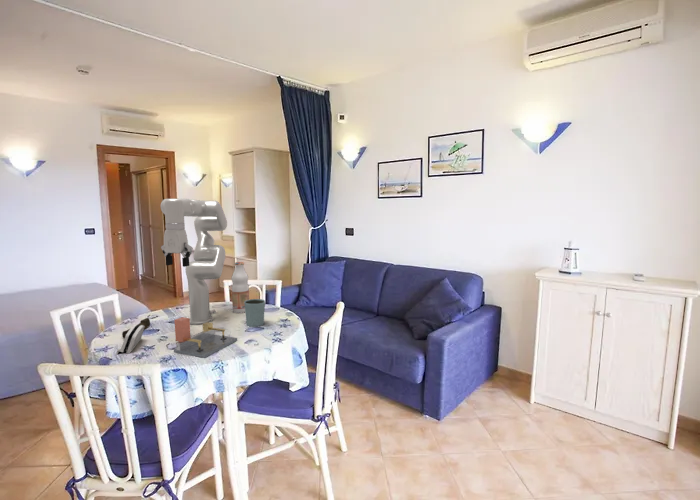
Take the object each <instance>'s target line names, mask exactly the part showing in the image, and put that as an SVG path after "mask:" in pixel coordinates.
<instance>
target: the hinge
mask: <svg viewBox="0 0 700 500" xmlns="http://www.w3.org/2000/svg"><path fill="white" fill-rule="evenodd" d="M144 327H145V326H143V325H139V323H134V324H133V325H132V326H131V327H130V328H129V329H130V330H129V331H128V333H127V334H126V336H125V339H124V338H123V342H122V344H121V346H120V347H119V348H118V349H117V350H116V353H115V355H118V354H119V353H120V352H121V353H126V354H130V353H131V352H132V351H133V350H134V349H135V348H136V346H137V344H139V343H140V341H141V339H142V337H143V334H144V330H145V329H144Z"/></svg>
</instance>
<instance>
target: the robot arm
mask: <svg viewBox="0 0 700 500" xmlns="http://www.w3.org/2000/svg"><path fill="white" fill-rule="evenodd" d="M160 210H161V212H162V213H163V214H164V217H165V218H164V219H165V225H164V226H165V230H164V235H163V245H161V246H160V249H161V252H162V253H163V256H164V257H165V265H166V266H172V265H173V264H174V262H173V254H180V255H181V256H182V259H181V260H182V262H181V263H182V267H184V268H185V275H186V279H187V285H188V299H189V300H188V301H189V318H190V325H194V326H195V325H203V324H204V323H207V322H210V323H212V322H213V321H214V316H213V314H216V313H217V310H216V309H212V310H210V309H211V308H210V307H211V306H210V291H209V290H210V288H209V285H208V283H207V282H206V281H205V280H218V279H220V278H221V276H222V273H223V269H224V264H225V260H226V249H225V247H224V246H222V245H220V244H215V239H214V238H213V236H212V235H211V234H210V233H209V232H221V231H222V232H223V231H225V230H226V229H227V226H228V221H227V218H226V215H225V212H224V209H223V207H222V204H221V203H220V202H219V201H218V200H200V199H199V200H198V199H193V198H192V199H190V198H164V199H162V201H161V203H160ZM185 217H192V218H193V217H195V219H194V222H193V223H194V225H193V226H194V229H195V233H196V238H197V239H196V240H197V241H196V245H195V248H194V250H193V247H192V246H191V245H189V240H188V235H187V231H186V229H185V228H186V227H185V224H186V223H185ZM192 252H193V261H190V257H191V255H192Z"/></svg>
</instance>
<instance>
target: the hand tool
mask: <svg viewBox="0 0 700 500" xmlns="http://www.w3.org/2000/svg"><path fill="white" fill-rule="evenodd" d="M138 324H139V325H143V326H145V327H144V330H147V329H148V328H149V327H150V326H151V321H150V318H149V317H145V318H144V319H141V320H140V322H139V323H138ZM129 330H130V328H128V329H127V330H124V331H122V332H121V335H122V338H123V340H124V339H125V336H126V334H127V333H128V331H129Z"/></svg>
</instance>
